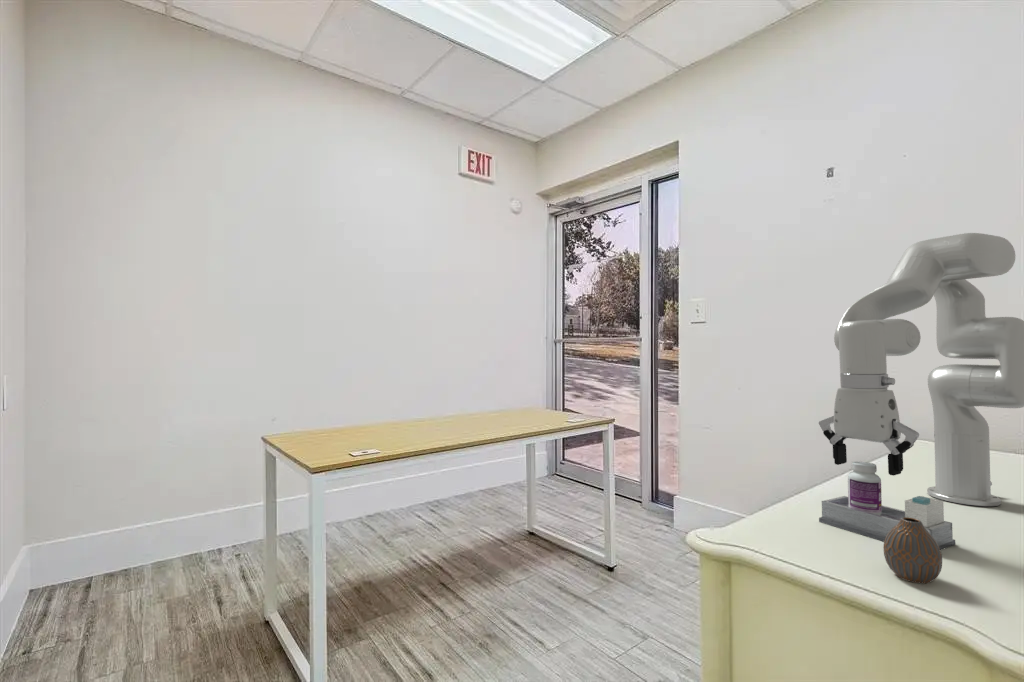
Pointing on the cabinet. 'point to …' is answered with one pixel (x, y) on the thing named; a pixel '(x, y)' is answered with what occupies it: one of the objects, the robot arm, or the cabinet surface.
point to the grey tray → (889, 518)
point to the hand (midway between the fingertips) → (866, 468)
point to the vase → (912, 552)
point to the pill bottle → (864, 488)
